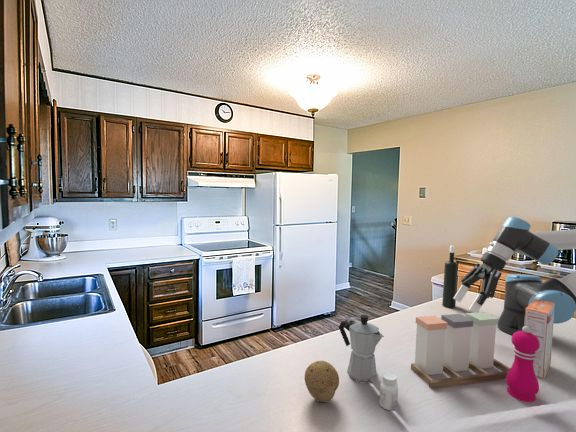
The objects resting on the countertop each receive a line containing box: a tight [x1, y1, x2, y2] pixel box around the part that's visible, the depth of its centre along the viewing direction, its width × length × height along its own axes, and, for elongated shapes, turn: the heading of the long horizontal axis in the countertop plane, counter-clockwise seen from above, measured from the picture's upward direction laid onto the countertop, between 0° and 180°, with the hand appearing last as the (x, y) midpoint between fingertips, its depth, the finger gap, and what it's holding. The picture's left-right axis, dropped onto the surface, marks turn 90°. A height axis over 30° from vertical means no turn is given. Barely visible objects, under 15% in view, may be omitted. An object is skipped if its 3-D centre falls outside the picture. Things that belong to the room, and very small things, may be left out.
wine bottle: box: [441, 244, 459, 309], centre depth 159 cm, size 6×6×30 cm
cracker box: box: [524, 299, 555, 379], centre depth 102 cm, size 14×6×21 cm, turn 134°
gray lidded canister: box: [440, 313, 473, 373], centre depth 100 cm, size 6×7×16 cm
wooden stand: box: [410, 358, 511, 390], centre depth 98 cm, size 13×31×3 cm, turn 103°
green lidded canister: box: [465, 311, 499, 370], centre depth 102 cm, size 6×7×16 cm
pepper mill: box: [505, 326, 540, 403], centre depth 87 cm, size 7×7×20 cm
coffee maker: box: [338, 314, 385, 383], centre depth 97 cm, size 15×9×18 cm, turn 47°
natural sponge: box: [304, 360, 340, 403], centre depth 85 cm, size 9×9×10 cm
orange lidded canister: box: [414, 315, 448, 376], centre depth 98 cm, size 6×7×16 cm
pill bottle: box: [379, 372, 399, 411], centre depth 83 cm, size 4×4×8 cm
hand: (464, 305), depth 120 cm, fingers open, 13 cm apart
